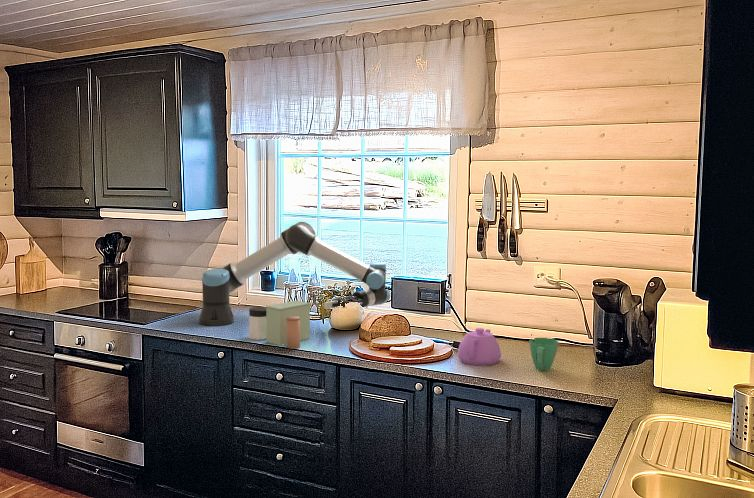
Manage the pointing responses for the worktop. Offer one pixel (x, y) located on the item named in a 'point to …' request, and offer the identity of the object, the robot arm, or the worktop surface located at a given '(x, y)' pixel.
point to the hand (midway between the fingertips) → (325, 305)
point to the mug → (543, 352)
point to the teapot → (479, 348)
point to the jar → (257, 323)
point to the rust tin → (293, 332)
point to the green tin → (278, 320)
